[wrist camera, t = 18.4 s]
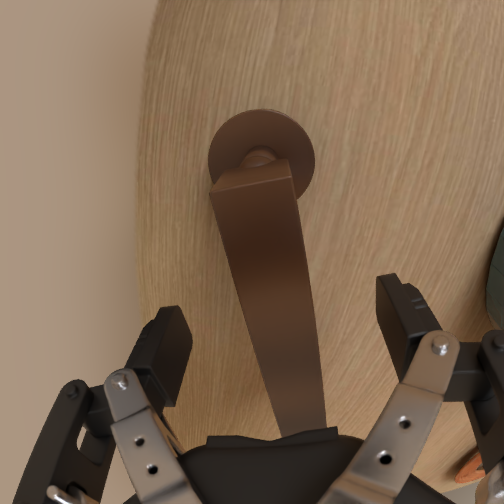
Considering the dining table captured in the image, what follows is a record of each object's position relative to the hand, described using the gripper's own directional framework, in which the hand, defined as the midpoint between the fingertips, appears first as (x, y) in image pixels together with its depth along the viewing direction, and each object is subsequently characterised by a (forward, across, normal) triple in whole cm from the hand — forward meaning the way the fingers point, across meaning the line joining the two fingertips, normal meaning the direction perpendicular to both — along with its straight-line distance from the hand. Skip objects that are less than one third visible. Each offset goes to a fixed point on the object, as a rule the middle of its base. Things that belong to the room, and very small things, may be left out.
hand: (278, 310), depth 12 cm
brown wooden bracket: (+8, 0, +1) cm, 8 cm away
